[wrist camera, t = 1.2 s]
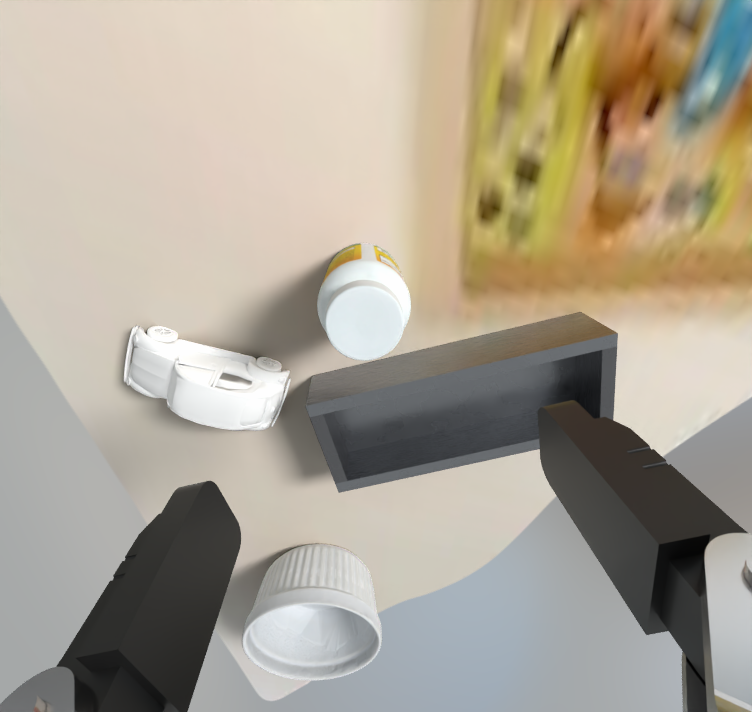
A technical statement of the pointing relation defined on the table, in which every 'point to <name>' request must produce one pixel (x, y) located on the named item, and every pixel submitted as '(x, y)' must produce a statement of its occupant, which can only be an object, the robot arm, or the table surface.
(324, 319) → the supplement bottle
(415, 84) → the table surface
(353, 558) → the ramekin
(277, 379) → the car
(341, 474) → the open rectangular box
